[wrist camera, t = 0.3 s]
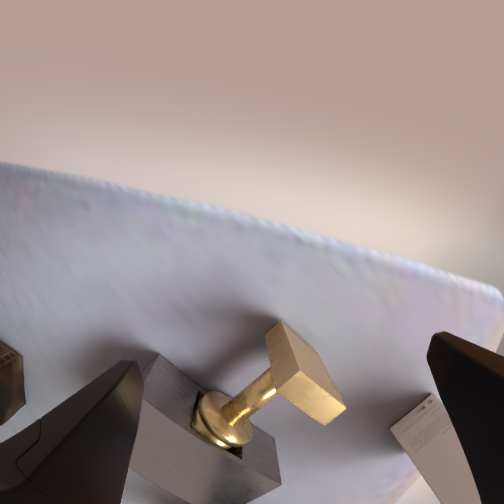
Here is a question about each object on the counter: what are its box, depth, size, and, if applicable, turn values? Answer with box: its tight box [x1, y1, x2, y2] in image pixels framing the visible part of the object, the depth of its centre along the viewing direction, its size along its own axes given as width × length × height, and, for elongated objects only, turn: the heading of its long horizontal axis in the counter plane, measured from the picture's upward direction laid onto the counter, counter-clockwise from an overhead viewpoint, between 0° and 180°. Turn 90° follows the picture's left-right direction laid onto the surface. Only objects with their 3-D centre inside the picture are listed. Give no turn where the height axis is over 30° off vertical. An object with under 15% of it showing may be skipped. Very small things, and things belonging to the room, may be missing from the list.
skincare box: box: [390, 394, 482, 504], centre depth 18 cm, size 8×7×16 cm
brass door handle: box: [190, 320, 347, 450], centre depth 20 cm, size 14×5×8 cm, turn 135°
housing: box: [128, 354, 282, 504], centre depth 21 cm, size 8×14×6 cm, turn 45°
